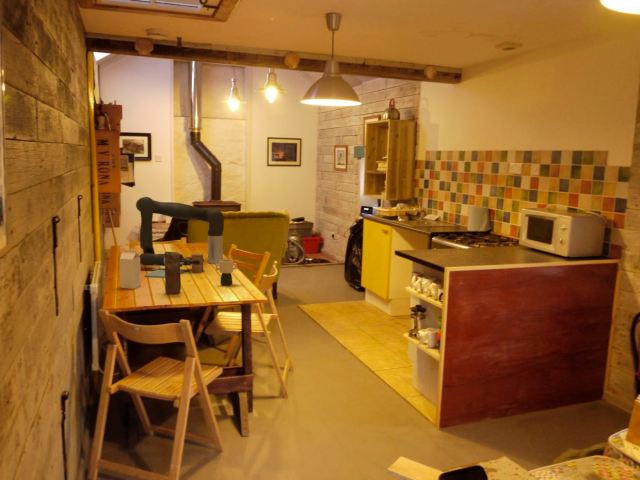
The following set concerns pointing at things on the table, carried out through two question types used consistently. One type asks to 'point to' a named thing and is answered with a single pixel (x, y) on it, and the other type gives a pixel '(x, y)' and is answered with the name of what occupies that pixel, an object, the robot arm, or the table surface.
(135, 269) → the milk carton
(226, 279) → the character mug
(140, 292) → the table surface
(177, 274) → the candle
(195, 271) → the walnut block
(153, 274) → the slate-blue mat
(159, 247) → the table surface
